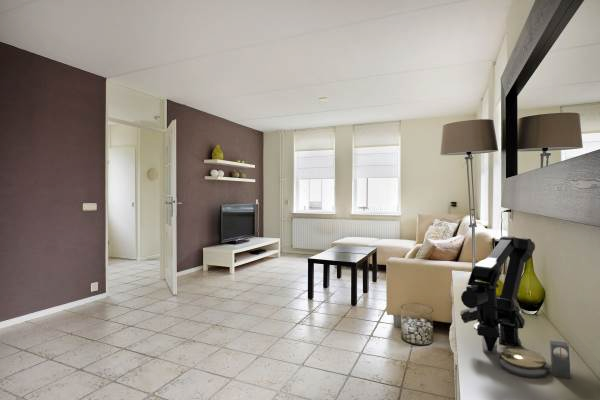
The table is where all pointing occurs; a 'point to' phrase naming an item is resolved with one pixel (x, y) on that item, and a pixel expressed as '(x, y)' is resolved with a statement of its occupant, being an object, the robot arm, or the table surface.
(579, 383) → the table surface
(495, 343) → the cylinder
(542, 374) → the base
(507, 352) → the pan
